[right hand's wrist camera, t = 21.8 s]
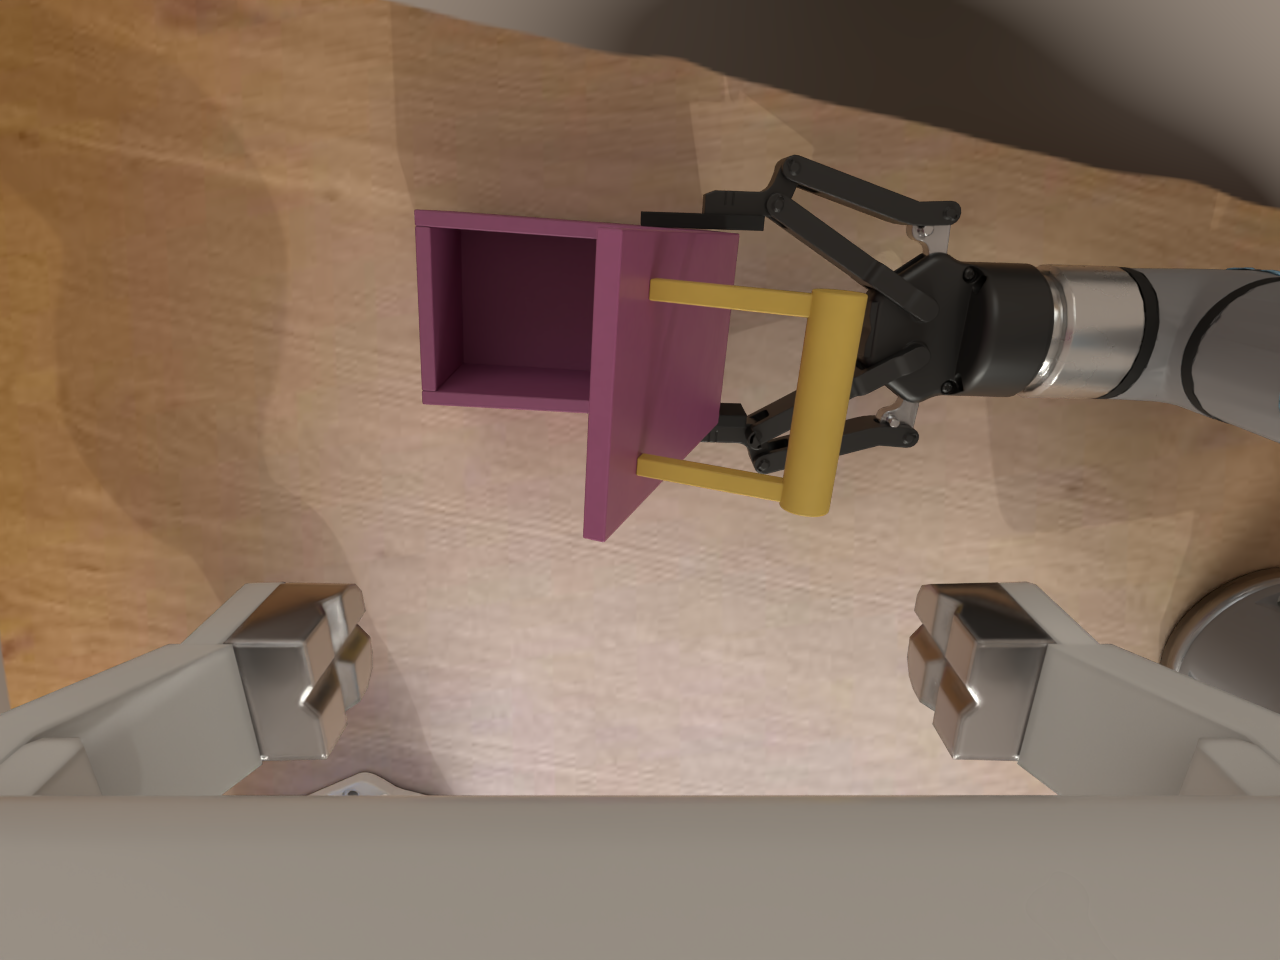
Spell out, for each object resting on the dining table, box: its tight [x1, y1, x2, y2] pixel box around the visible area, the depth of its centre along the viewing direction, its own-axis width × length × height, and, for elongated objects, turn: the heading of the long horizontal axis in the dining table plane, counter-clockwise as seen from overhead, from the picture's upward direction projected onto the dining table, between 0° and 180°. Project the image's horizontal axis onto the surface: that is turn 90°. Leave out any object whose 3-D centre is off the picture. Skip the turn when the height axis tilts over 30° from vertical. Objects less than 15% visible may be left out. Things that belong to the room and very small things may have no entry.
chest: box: [414, 210, 726, 413], centre depth 41 cm, size 16×10×9 cm, turn 86°
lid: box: [583, 227, 868, 542], centre depth 28 cm, size 17×10×8 cm
